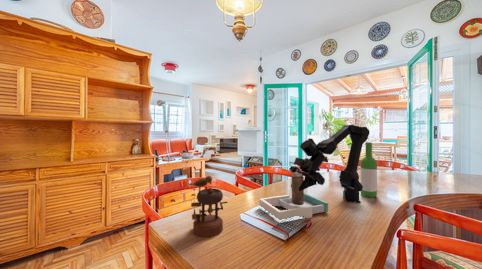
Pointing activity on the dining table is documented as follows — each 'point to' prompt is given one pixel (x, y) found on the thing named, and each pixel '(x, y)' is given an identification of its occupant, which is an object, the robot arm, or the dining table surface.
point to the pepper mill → (296, 194)
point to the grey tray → (306, 204)
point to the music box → (207, 223)
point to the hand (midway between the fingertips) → (295, 188)
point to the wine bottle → (369, 173)
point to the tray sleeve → (284, 214)
